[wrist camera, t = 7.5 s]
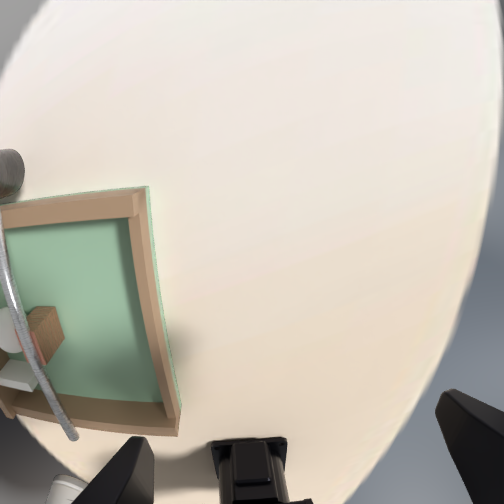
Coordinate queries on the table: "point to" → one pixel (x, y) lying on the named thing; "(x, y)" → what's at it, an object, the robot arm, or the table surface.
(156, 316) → the pitch
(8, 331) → the ball
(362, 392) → the table surface
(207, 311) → the table surface
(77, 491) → the travel mug
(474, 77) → the table surface
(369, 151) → the table surface
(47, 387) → the rubber mallet
